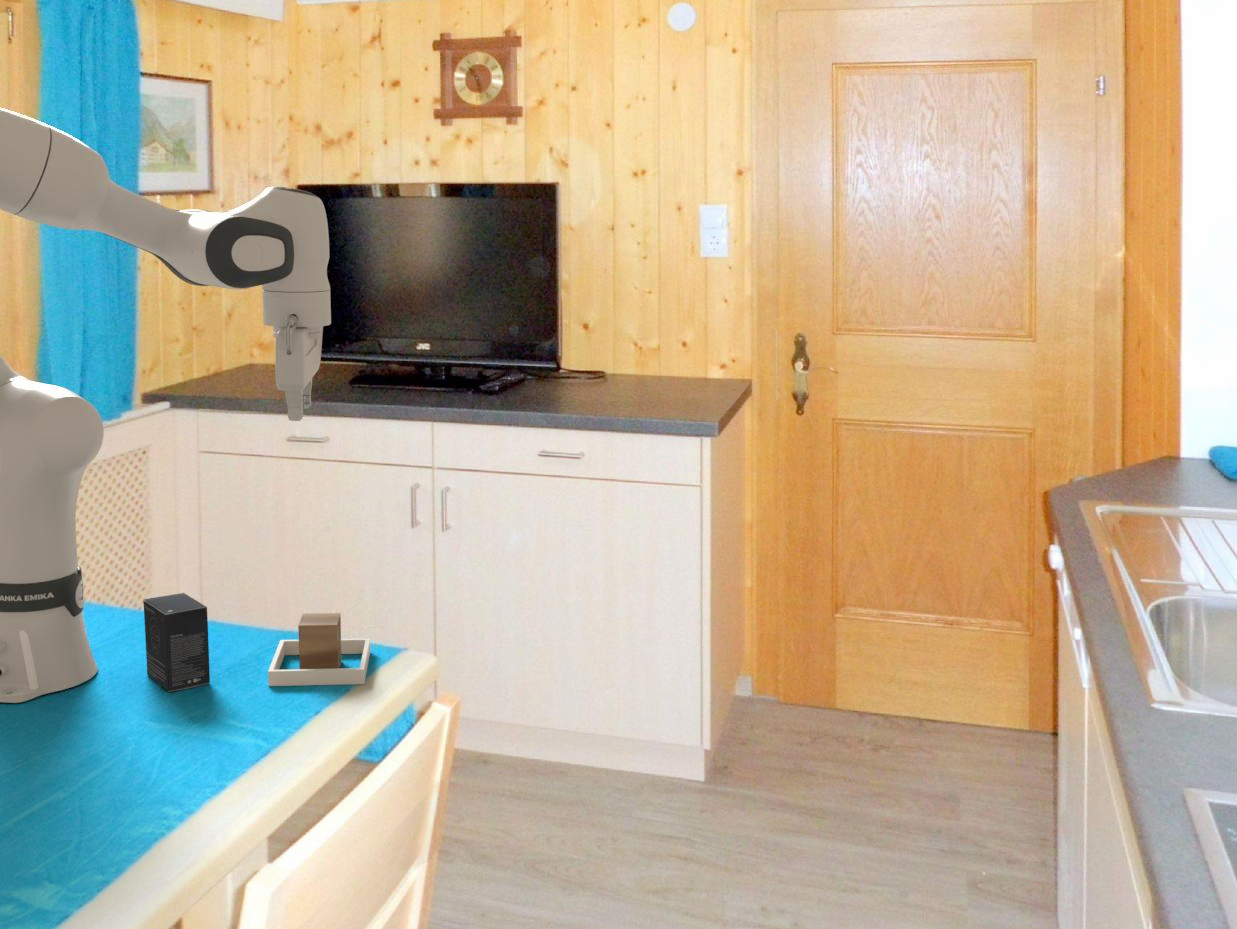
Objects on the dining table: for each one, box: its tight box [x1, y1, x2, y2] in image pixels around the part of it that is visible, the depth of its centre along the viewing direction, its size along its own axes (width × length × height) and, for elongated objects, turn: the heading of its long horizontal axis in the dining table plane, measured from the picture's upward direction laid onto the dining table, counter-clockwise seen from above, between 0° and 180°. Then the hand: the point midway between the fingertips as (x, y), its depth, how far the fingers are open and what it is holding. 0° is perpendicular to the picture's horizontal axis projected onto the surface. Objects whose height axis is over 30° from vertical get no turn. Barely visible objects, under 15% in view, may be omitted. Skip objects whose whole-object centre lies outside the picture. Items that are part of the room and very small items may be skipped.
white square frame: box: [267, 637, 371, 687], centre depth 179 cm, size 12×12×2 cm
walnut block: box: [297, 612, 342, 669], centre depth 179 cm, size 5×5×7 cm
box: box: [143, 592, 211, 693], centre depth 173 cm, size 8×6×11 cm
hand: (299, 414), depth 181 cm, fingers open, 8 cm apart
